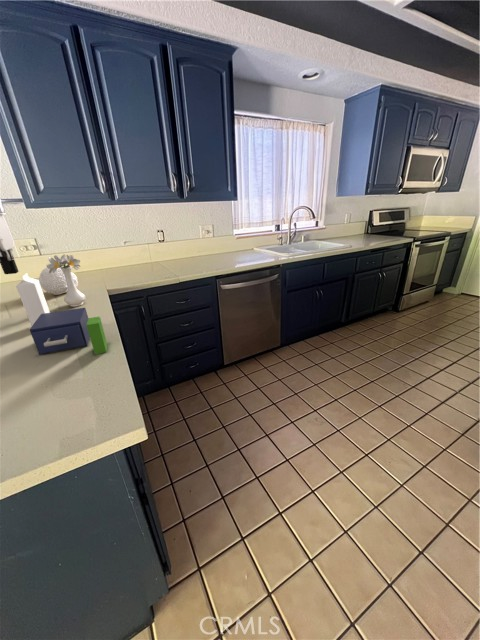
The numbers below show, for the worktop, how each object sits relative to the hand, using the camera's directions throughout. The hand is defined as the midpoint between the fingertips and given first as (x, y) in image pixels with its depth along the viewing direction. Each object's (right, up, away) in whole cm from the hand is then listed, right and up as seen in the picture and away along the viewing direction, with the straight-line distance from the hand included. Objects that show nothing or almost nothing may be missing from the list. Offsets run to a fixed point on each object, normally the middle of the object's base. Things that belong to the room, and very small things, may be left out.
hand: (11, 273), depth 82 cm
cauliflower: (-32, +1, +71) cm, 78 cm away
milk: (-11, -17, +29) cm, 35 cm away
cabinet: (+7, -23, +16) cm, 28 cm away
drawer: (+9, -23, +12) cm, 27 cm away
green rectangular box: (+23, -25, +9) cm, 35 cm away
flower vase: (-12, -7, +52) cm, 54 cm away
